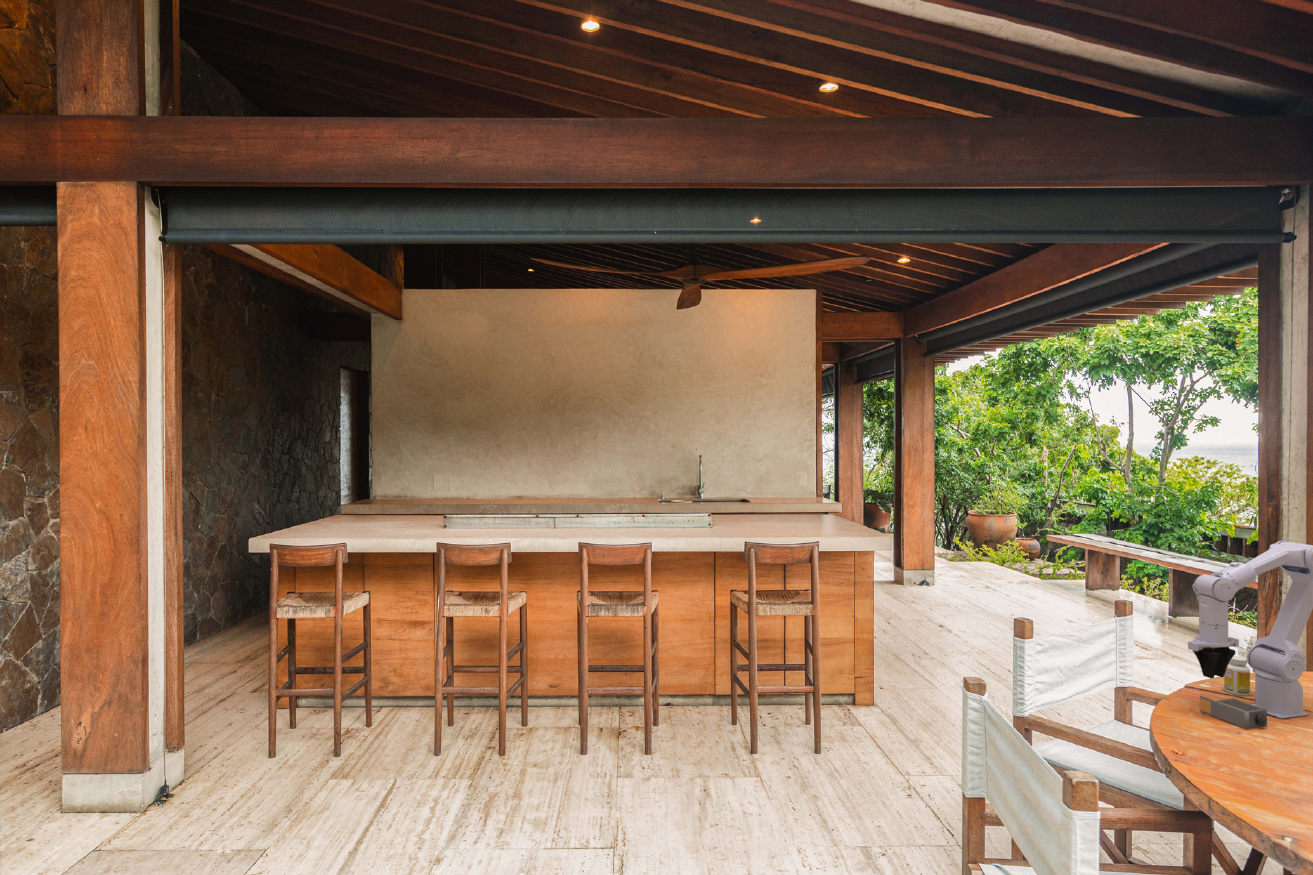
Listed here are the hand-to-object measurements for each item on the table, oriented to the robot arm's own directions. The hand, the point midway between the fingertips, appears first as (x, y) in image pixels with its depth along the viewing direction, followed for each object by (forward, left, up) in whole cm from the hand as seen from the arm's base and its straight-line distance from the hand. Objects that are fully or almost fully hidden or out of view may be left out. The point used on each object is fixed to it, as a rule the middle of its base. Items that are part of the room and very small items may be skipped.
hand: (1213, 676), depth 168 cm
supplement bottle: (-22, -9, -10) cm, 25 cm away
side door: (+2, +4, -9) cm, 10 cm away
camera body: (-1, +5, -9) cm, 11 cm away
